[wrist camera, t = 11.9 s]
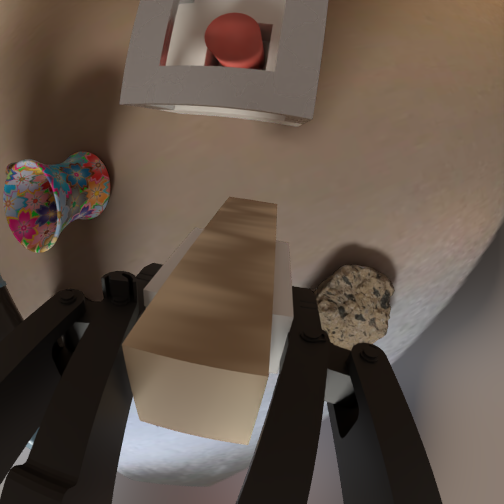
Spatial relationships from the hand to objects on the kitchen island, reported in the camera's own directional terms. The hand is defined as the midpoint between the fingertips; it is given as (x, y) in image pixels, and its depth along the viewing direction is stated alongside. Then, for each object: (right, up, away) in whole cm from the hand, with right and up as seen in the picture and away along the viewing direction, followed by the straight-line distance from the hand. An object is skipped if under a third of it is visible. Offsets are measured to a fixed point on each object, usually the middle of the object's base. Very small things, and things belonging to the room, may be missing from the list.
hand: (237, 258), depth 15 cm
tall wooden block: (+1, +2, +6) cm, 7 cm away
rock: (+12, -6, +19) cm, 23 cm away
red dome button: (0, +19, +7) cm, 20 cm away
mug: (-21, +9, +15) cm, 27 cm away
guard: (0, +17, +3) cm, 17 cm away
